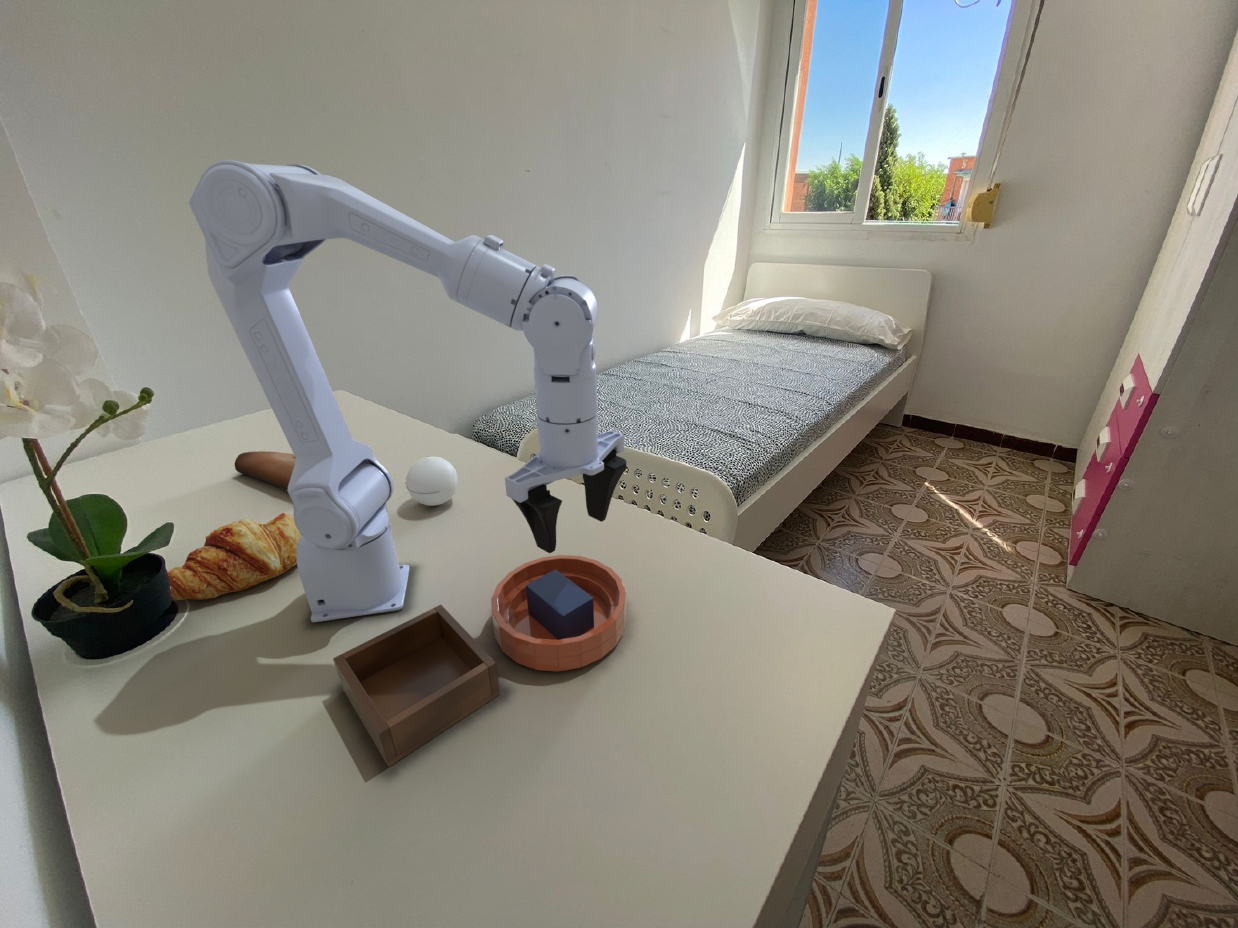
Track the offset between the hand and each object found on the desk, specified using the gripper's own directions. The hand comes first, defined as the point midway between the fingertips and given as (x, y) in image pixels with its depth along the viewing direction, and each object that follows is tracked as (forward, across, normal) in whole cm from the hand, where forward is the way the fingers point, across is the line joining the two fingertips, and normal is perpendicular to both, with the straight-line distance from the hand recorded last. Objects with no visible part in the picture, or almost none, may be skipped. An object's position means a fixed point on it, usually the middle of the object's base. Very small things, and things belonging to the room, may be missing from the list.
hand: (572, 532), depth 58 cm
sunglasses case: (+10, -9, +56) cm, 57 cm away
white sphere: (+10, +1, +32) cm, 33 cm away
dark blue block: (+9, -4, -1) cm, 10 cm away
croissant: (+10, -21, +34) cm, 41 cm away
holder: (+10, -18, +2) cm, 21 cm away
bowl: (+10, -4, -1) cm, 10 cm away
